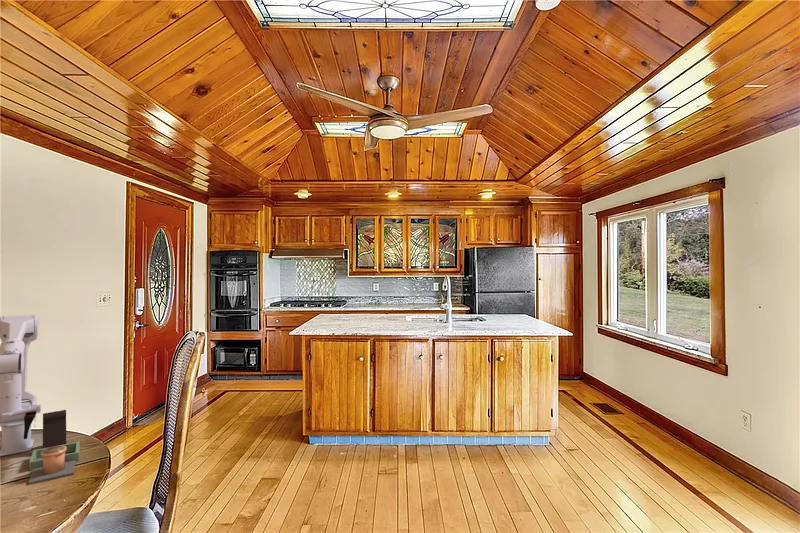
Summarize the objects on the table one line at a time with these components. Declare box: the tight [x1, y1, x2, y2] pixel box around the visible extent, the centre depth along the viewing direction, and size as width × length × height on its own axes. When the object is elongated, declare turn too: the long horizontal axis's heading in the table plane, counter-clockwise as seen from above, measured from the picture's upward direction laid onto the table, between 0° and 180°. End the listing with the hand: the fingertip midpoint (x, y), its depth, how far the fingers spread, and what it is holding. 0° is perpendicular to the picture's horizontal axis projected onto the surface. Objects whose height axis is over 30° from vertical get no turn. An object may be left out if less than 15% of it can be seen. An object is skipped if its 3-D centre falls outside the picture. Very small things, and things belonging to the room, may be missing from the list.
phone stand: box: [42, 409, 67, 449], centre depth 139 cm, size 9×6×12 cm, turn 40°
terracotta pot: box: [41, 446, 67, 474], centre depth 123 cm, size 6×6×6 cm
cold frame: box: [28, 441, 81, 472], centre depth 131 cm, size 10×12×2 cm
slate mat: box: [28, 460, 76, 485], centre depth 123 cm, size 9×10×1 cm
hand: (8, 441), depth 123 cm, fingers open, 7 cm apart
